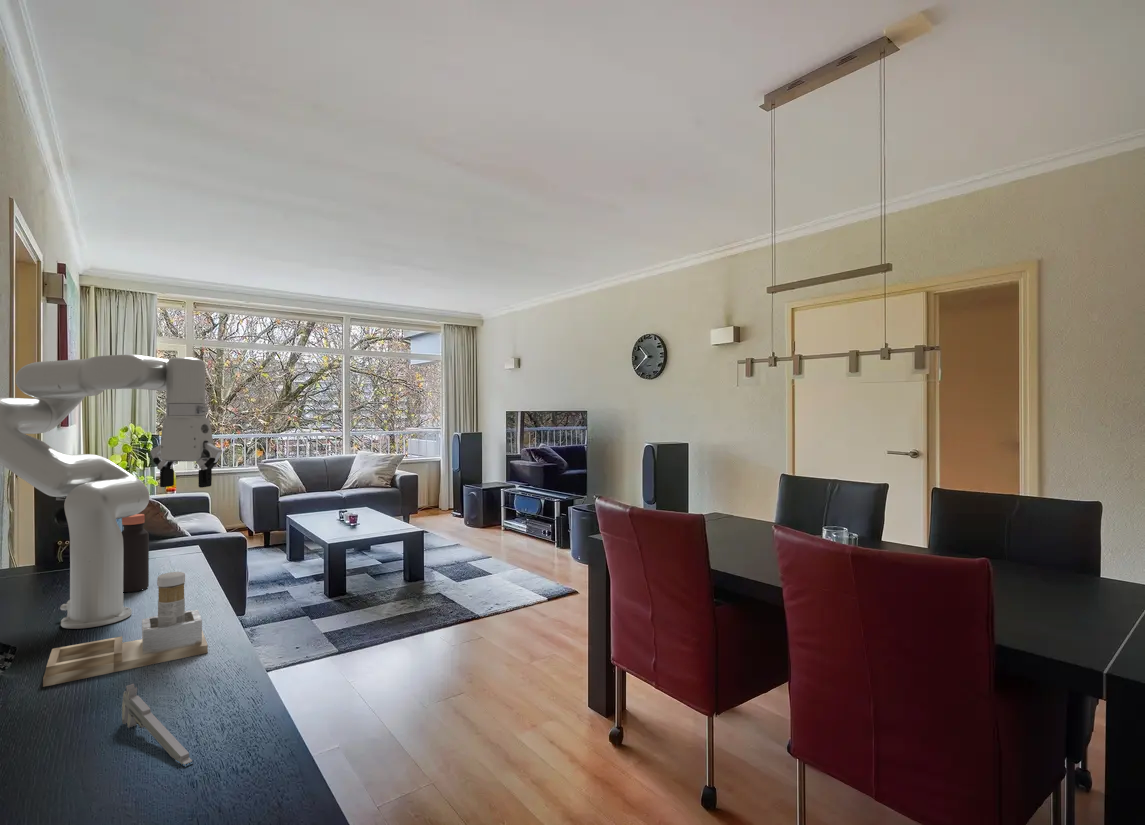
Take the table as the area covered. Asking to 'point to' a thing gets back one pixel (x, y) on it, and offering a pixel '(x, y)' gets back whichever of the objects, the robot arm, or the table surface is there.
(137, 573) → the vinegar
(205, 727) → the table surface
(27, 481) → the robot arm
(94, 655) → the stand board
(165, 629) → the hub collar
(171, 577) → the sprinkles bottle
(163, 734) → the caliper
